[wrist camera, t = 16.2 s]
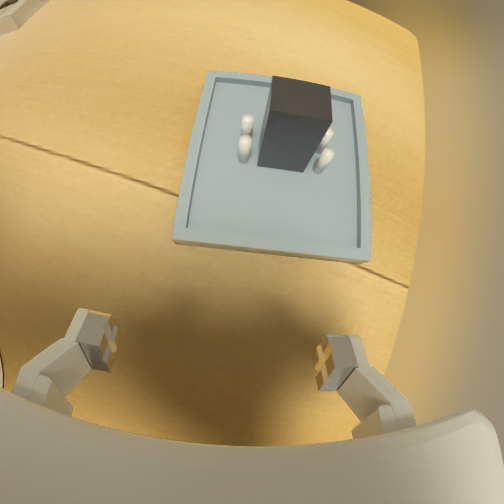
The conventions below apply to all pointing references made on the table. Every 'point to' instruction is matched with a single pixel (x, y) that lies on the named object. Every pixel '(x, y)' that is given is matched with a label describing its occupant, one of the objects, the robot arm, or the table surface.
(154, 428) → the table surface
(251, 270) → the table surface
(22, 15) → the beige hollow block
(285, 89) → the drive
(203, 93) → the tray
